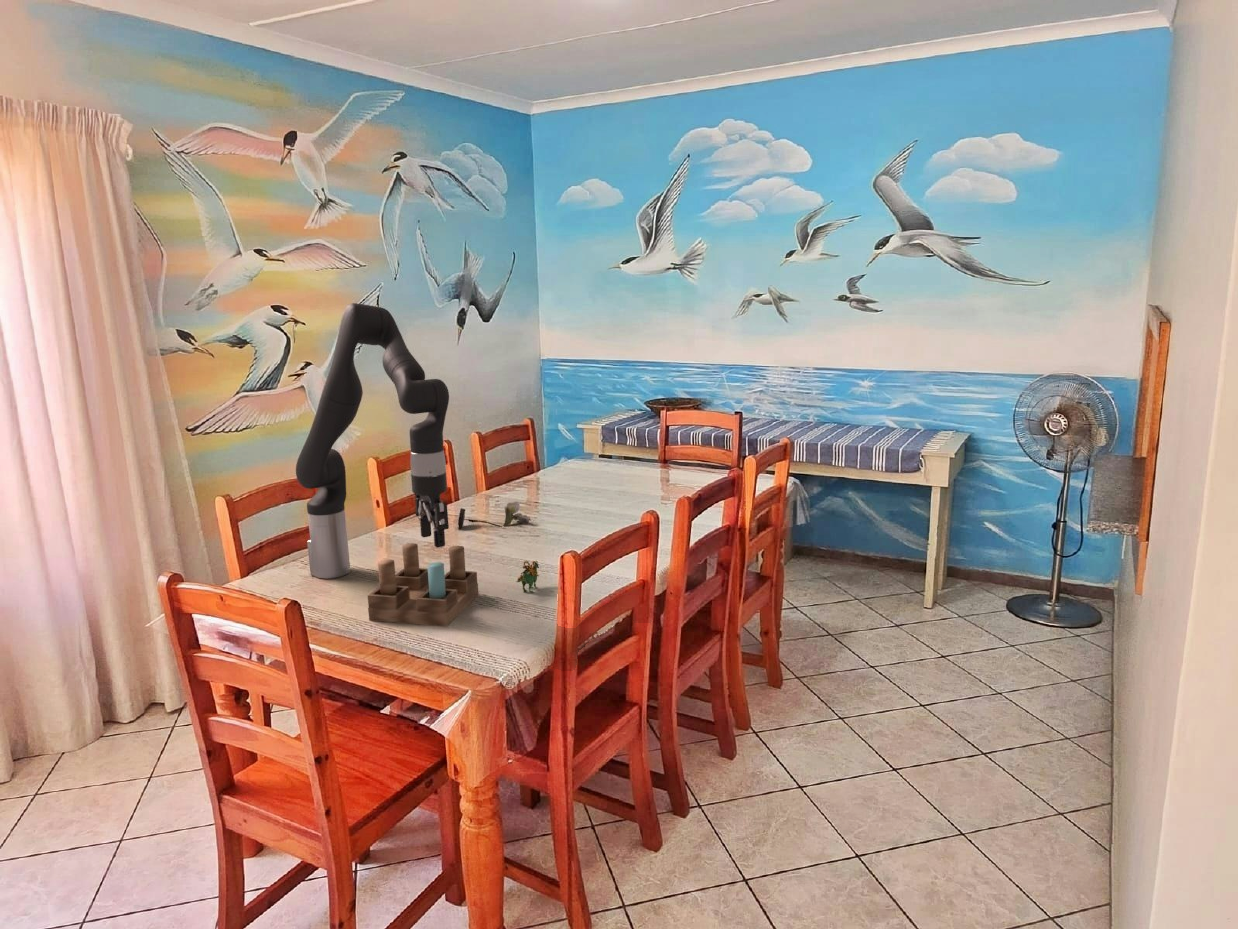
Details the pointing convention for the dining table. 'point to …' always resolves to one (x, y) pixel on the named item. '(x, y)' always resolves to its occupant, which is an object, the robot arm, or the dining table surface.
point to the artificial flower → (509, 512)
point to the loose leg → (436, 580)
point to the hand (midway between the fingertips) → (433, 541)
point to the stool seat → (421, 591)
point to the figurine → (529, 575)
